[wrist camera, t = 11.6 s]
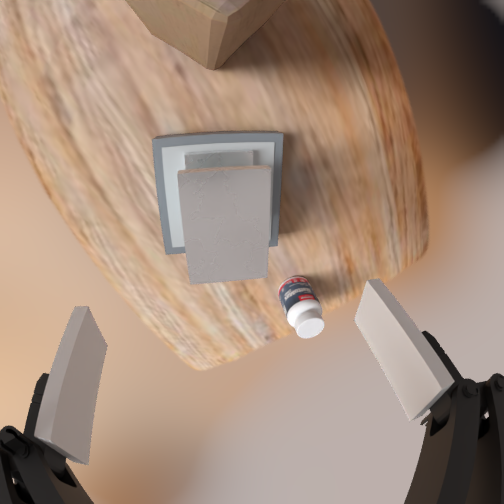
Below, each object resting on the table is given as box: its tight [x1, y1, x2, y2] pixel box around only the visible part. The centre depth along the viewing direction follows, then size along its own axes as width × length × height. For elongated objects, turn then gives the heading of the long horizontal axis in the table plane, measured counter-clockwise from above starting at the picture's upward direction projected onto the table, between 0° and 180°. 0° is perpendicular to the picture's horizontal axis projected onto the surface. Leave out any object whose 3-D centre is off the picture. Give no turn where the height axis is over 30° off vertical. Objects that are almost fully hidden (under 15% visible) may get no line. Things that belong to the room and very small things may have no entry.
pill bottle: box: [278, 276, 324, 338], centre depth 39 cm, size 5×5×9 cm
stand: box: [152, 131, 283, 254], centre depth 31 cm, size 14×14×3 cm
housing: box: [177, 150, 271, 284], centre depth 26 cm, size 7×10×9 cm
